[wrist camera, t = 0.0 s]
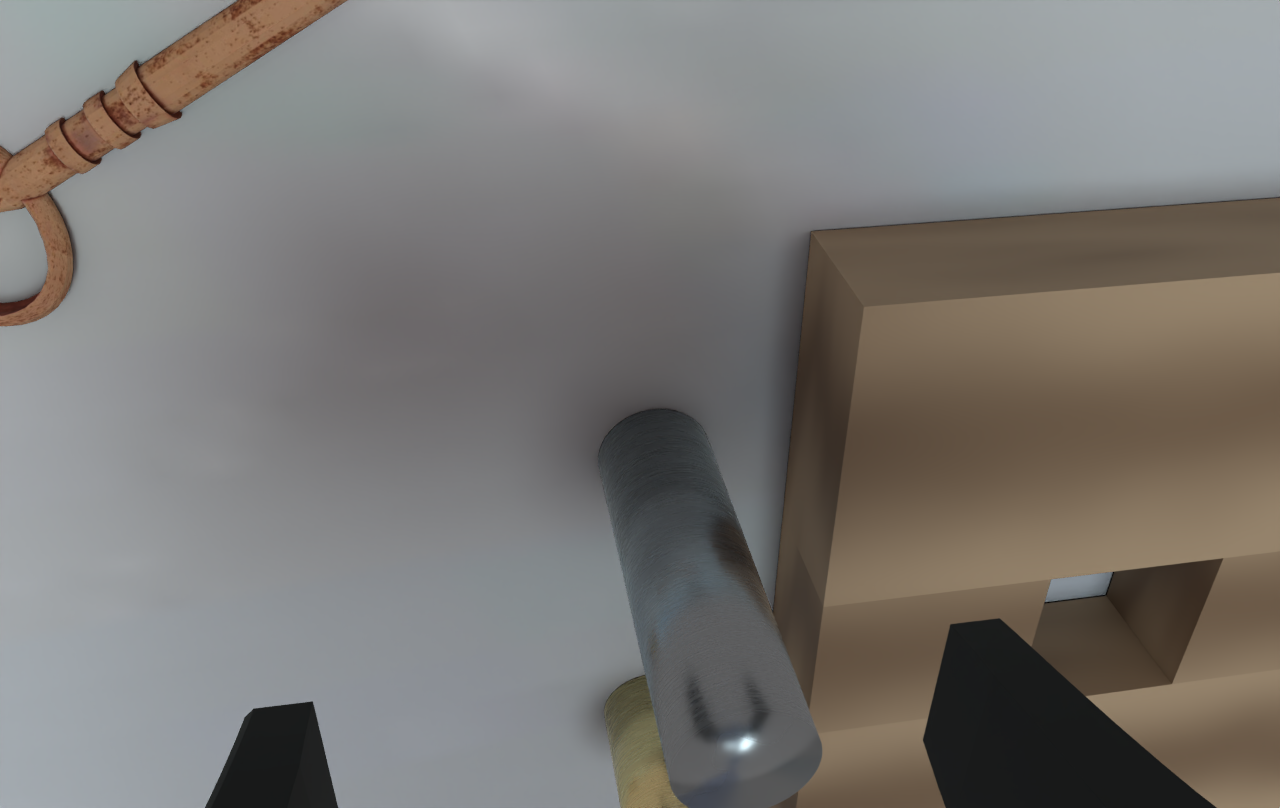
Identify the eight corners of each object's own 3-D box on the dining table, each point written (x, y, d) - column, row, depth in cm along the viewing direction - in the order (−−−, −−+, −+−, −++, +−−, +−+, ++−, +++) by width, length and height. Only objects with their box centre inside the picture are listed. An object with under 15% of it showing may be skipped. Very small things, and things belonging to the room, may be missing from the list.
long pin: (706, 494, 24) (814, 804, 17) (599, 505, 24) (667, 825, 17) (711, 404, 23) (830, 703, 16) (597, 414, 22) (671, 724, 16)
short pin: (695, 731, 28) (731, 868, 25) (604, 743, 28) (629, 884, 25) (698, 668, 27) (736, 805, 24) (603, 680, 27) (628, 821, 23)
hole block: (1202, 744, 33) (1266, 831, 30) (753, 811, 31) (782, 910, 28) (1456, 184, 23) (1582, 247, 20) (811, 231, 21) (863, 307, 18)
